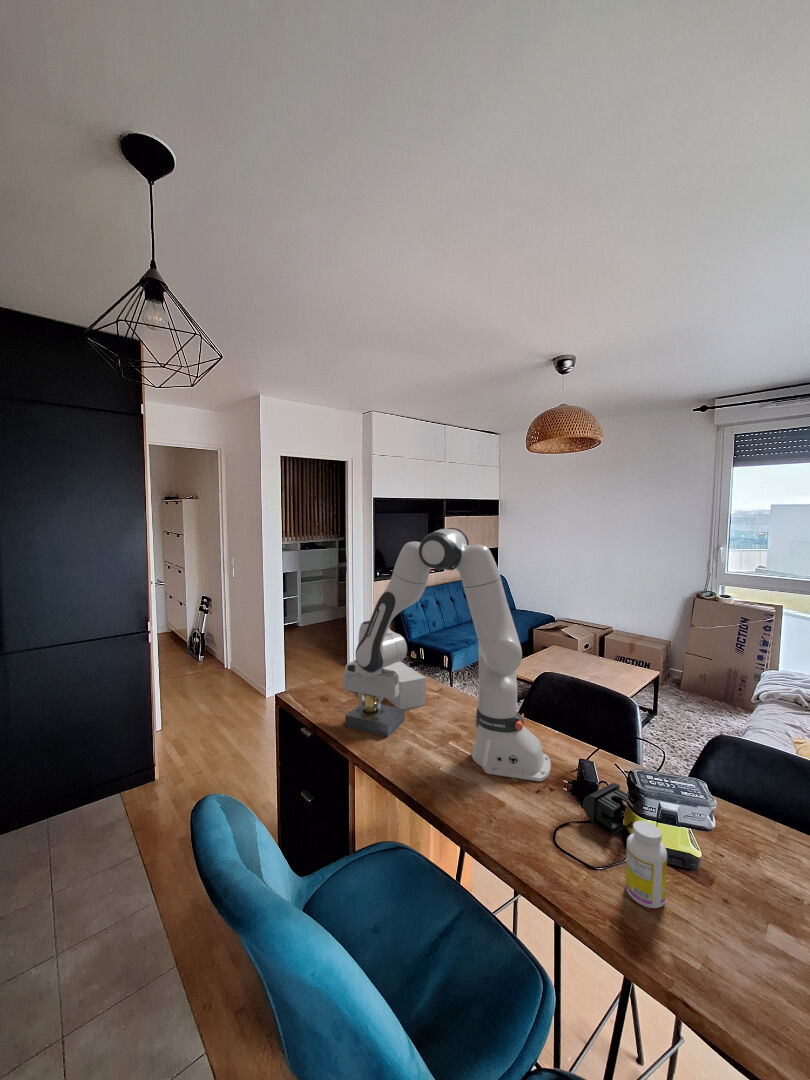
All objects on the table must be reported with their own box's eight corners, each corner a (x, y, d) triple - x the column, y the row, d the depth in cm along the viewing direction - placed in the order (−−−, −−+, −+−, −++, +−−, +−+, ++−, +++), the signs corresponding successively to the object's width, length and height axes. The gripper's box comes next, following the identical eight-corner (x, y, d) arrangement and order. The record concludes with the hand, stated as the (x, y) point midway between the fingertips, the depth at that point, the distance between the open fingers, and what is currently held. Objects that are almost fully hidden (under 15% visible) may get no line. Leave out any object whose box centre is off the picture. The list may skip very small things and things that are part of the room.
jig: (404, 720, 152) (404, 709, 151) (387, 737, 140) (388, 725, 140) (364, 711, 158) (364, 700, 158) (345, 726, 146) (345, 715, 146)
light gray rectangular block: (425, 705, 165) (425, 677, 164) (400, 711, 160) (400, 682, 159) (388, 677, 193) (388, 653, 192) (365, 681, 188) (366, 657, 187)
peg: (378, 715, 151) (378, 693, 150) (372, 720, 147) (373, 697, 147) (368, 713, 152) (368, 691, 152) (362, 718, 149) (362, 695, 148)
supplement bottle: (651, 880, 86) (654, 816, 85) (673, 910, 79) (676, 841, 78) (618, 880, 85) (620, 817, 85) (637, 910, 79) (640, 842, 78)
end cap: (606, 804, 109) (608, 778, 108) (634, 821, 103) (636, 793, 102) (581, 818, 103) (582, 790, 103) (609, 837, 97) (611, 807, 97)
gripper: (402, 668, 147) (402, 708, 148) (350, 659, 156) (350, 697, 157) (394, 674, 142) (393, 716, 142) (341, 665, 150) (340, 704, 151)
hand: (370, 706), depth 150 cm, fingers closed on peg, 4 cm apart
